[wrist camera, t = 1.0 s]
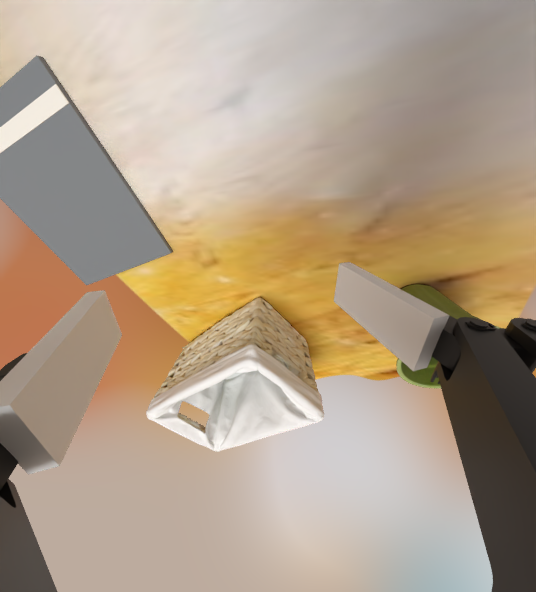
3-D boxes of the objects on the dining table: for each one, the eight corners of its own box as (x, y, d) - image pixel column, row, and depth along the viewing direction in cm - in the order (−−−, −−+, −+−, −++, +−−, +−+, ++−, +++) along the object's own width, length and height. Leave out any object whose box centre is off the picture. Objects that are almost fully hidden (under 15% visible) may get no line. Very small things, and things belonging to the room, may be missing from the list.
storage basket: (263, 285, 36) (250, 360, 24) (319, 342, 43) (330, 423, 31) (177, 344, 46) (137, 416, 35) (232, 382, 53) (215, 454, 41)
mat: (-53, 138, 27) (-60, 138, 27) (42, 57, 22) (35, 55, 22) (89, 283, 39) (85, 285, 38) (173, 251, 34) (171, 253, 33)
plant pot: (355, 312, 38) (376, 369, 28) (413, 256, 31) (463, 307, 22) (409, 339, 40) (443, 399, 31) (473, 292, 33) (540, 351, 24)
